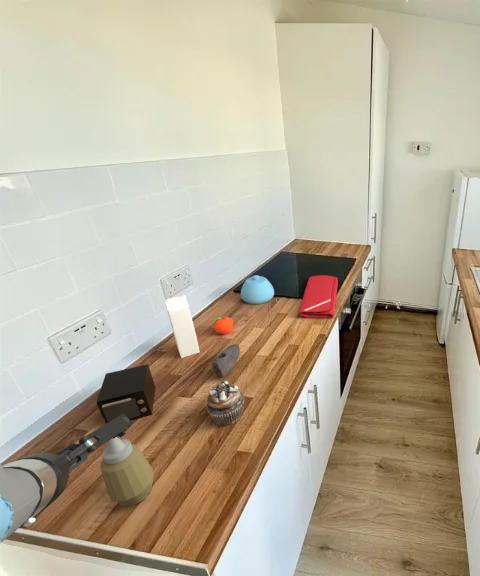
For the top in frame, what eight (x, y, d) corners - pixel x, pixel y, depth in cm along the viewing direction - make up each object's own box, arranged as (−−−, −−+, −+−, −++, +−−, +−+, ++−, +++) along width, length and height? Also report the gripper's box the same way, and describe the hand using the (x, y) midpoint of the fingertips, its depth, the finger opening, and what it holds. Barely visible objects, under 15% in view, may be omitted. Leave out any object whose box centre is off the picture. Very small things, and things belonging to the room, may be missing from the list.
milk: (178, 350, 118) (162, 296, 108) (196, 344, 121) (183, 291, 112) (181, 358, 113) (165, 303, 104) (200, 352, 117) (187, 298, 107)
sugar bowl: (234, 302, 151) (230, 280, 146) (253, 289, 164) (250, 268, 159) (264, 307, 148) (261, 284, 143) (280, 293, 161) (278, 272, 156)
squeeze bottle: (153, 468, 77) (131, 413, 69) (162, 493, 72) (139, 437, 64) (110, 491, 72) (81, 434, 64) (117, 520, 67) (86, 462, 59)
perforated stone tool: (232, 352, 118) (230, 337, 115) (246, 354, 117) (244, 338, 114) (209, 381, 104) (205, 364, 101) (224, 382, 104) (221, 365, 101)
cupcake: (201, 423, 89) (194, 396, 85) (226, 398, 98) (220, 372, 94) (231, 432, 87) (225, 404, 83) (253, 406, 96) (249, 380, 91)
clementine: (211, 338, 125) (208, 323, 122) (213, 329, 130) (210, 314, 127) (234, 336, 127) (231, 320, 124) (235, 326, 133) (232, 311, 130)
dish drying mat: (338, 280, 179) (338, 274, 178) (334, 318, 143) (334, 311, 141) (309, 279, 178) (309, 273, 176) (297, 318, 141) (297, 311, 139)
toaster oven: (106, 431, 86) (94, 405, 82) (115, 397, 96) (105, 373, 92) (151, 418, 90) (142, 393, 86) (155, 387, 101) (148, 364, 97)
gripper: (-95, 614, 36) (12, 532, 54) (140, 436, 48) (162, 418, 66) (-146, 565, 35) (-20, 499, 53) (105, 397, 47) (137, 390, 65)
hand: (81, 454), depth 60 cm, fingers open, 13 cm apart
